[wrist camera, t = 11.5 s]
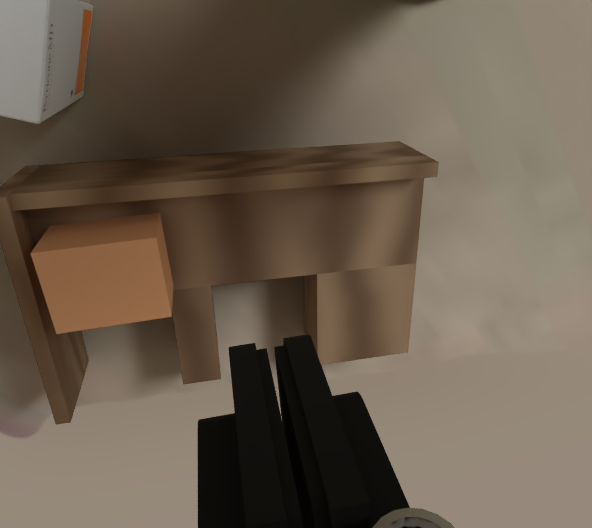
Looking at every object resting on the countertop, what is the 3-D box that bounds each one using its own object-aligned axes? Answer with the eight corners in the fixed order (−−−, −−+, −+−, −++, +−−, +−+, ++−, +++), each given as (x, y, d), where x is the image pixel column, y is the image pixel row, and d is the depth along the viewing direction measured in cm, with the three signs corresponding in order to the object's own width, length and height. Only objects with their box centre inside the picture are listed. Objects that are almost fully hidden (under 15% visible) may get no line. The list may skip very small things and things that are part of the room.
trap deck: (399, 141, 40) (442, 164, 33) (387, 321, 47) (420, 370, 40) (25, 166, 35) (-13, 198, 28) (76, 362, 42) (55, 424, 36)
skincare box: (85, 98, 34) (40, 129, 23) (17, 81, 33) (-64, 106, 22) (96, 2, 32) (52, -11, 21) (23, -20, 31) (-63, -46, 20)
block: (159, 212, 33) (156, 237, 29) (173, 284, 36) (171, 316, 32) (49, 225, 32) (30, 253, 28) (71, 298, 35) (56, 334, 31)
